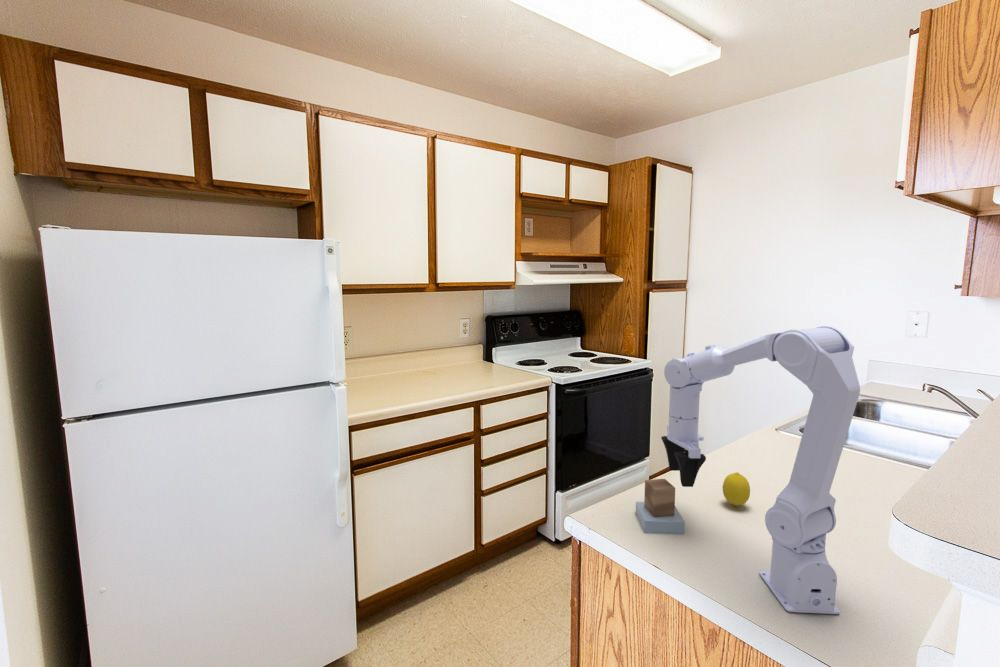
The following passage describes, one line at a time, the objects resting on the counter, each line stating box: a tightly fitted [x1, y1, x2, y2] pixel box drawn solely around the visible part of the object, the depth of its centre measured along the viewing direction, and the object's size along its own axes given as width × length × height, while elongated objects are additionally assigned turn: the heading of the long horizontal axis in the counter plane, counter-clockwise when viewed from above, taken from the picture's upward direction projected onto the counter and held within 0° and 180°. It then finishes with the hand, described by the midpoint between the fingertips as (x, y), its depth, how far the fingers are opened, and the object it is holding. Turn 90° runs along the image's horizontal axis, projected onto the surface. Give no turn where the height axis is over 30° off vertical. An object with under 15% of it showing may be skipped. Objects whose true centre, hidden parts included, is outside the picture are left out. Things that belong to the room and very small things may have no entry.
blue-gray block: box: [635, 501, 686, 535], centre depth 98 cm, size 8×8×3 cm
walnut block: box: [643, 478, 676, 517], centre depth 98 cm, size 4×4×6 cm
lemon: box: [722, 472, 751, 507], centre depth 104 cm, size 6×6×8 cm
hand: (680, 477), depth 97 cm, fingers open, 7 cm apart
